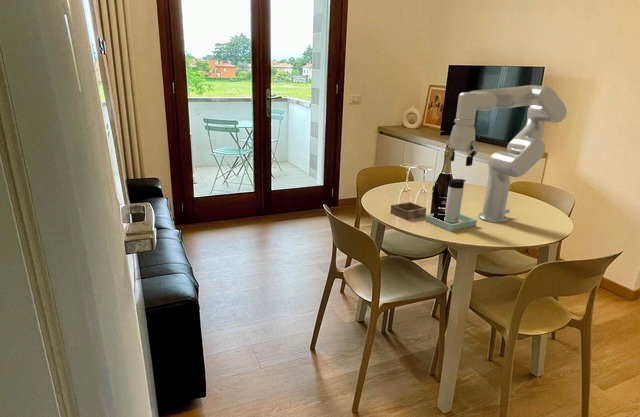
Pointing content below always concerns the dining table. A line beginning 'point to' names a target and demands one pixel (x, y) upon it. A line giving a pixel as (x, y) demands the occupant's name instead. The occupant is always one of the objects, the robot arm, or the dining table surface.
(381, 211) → the dining table surface
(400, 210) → the brown wooden open box
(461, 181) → the travel mug
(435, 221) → the tray
